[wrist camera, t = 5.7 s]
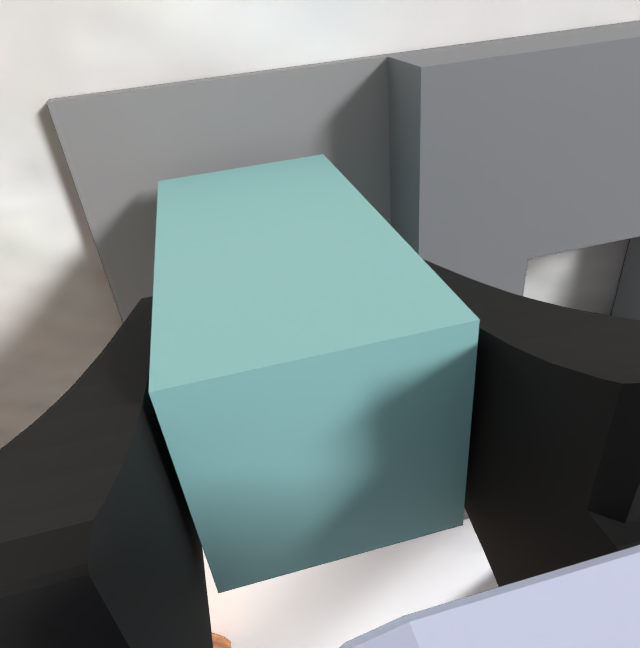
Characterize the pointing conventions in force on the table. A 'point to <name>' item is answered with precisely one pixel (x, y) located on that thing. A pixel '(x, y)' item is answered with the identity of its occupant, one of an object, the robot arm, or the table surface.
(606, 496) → the robot arm
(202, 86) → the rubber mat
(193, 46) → the table surface
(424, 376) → the teal block
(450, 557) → the table surface
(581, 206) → the pocket board
